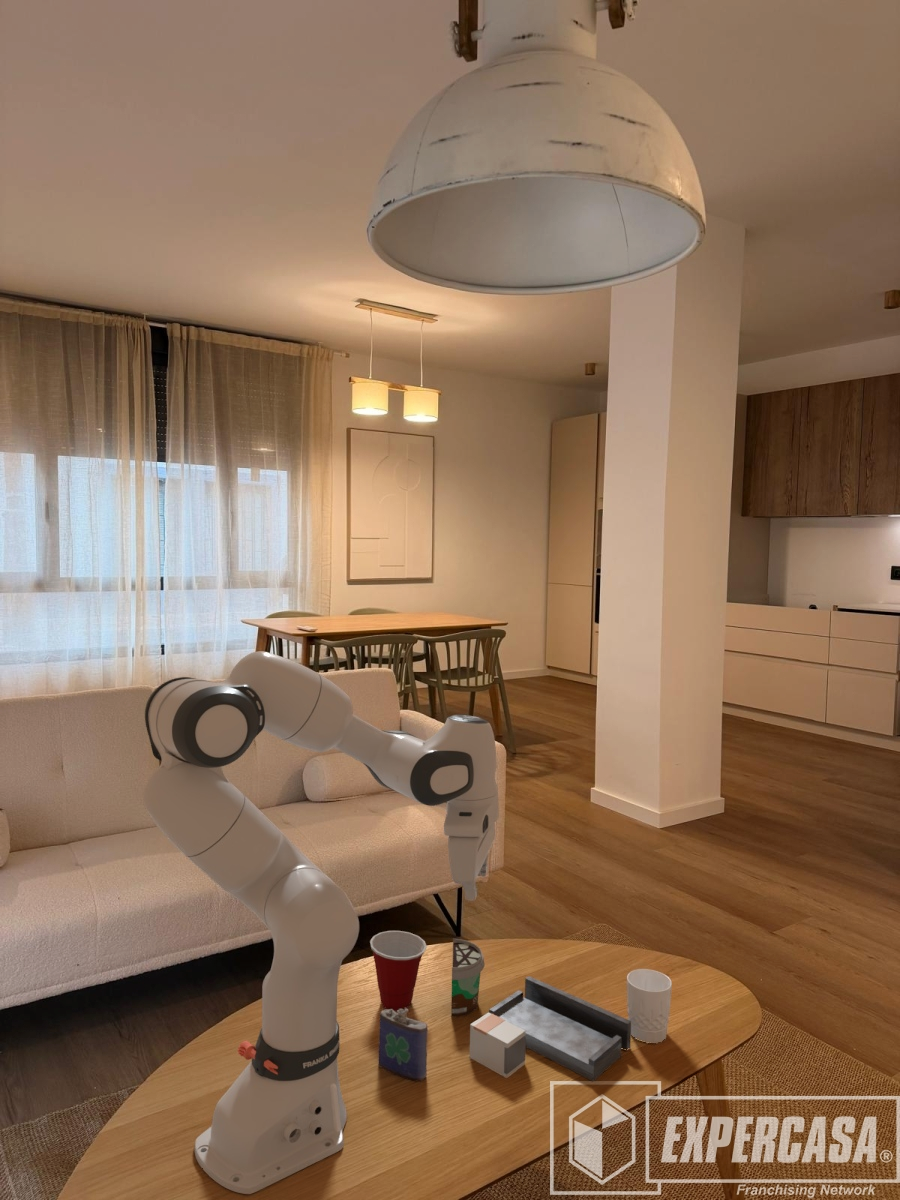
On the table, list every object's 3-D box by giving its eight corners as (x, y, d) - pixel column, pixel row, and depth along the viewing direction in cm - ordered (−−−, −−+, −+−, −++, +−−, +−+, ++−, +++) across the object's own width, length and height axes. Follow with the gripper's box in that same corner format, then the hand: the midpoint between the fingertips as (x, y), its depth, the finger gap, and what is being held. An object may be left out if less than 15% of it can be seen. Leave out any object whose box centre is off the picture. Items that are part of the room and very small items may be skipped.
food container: (484, 1022, 151) (485, 970, 150) (451, 1021, 151) (452, 969, 150) (483, 987, 163) (484, 938, 162) (452, 986, 163) (453, 937, 162)
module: (506, 1079, 135) (507, 1043, 134) (469, 1058, 140) (470, 1024, 140) (525, 1064, 139) (525, 1030, 138) (488, 1045, 144) (488, 1011, 144)
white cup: (668, 1050, 143) (670, 995, 143) (622, 1041, 146) (624, 986, 145) (671, 1025, 151) (673, 973, 150) (627, 1017, 153) (629, 965, 153)
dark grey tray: (593, 1081, 134) (594, 1052, 134) (488, 1028, 149) (489, 1001, 149) (630, 1048, 143) (631, 1021, 143) (528, 1001, 158) (529, 976, 158)
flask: (429, 1075, 135) (430, 1013, 134) (419, 1085, 133) (420, 1021, 132) (383, 1057, 140) (384, 996, 139) (373, 1066, 137) (374, 1004, 137)
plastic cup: (424, 1019, 151) (425, 956, 150) (366, 1018, 151) (367, 955, 150) (426, 988, 162) (427, 929, 161) (372, 987, 162) (372, 928, 161)
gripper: (467, 788, 150) (471, 860, 152) (440, 829, 131) (445, 912, 132) (501, 788, 149) (504, 862, 150) (479, 831, 129) (483, 915, 130)
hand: (476, 886), depth 141 cm, fingers open, 8 cm apart
